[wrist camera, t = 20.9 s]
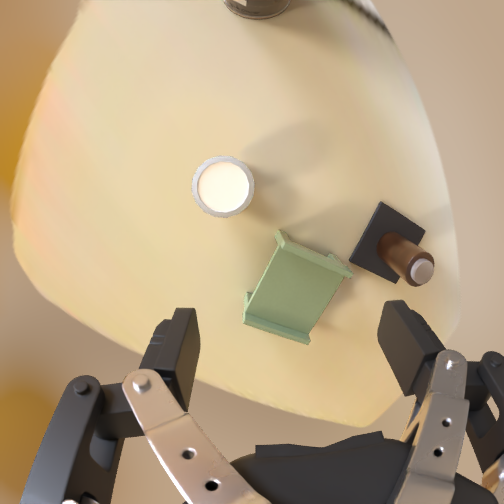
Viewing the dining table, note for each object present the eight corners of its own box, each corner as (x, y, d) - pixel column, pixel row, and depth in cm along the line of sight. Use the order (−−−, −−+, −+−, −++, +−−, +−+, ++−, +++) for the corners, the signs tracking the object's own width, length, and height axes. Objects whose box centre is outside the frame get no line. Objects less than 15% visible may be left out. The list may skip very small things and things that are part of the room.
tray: (277, 227, 40) (285, 242, 33) (337, 255, 41) (353, 273, 35) (241, 298, 43) (242, 323, 37) (299, 319, 45) (308, 345, 39)
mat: (380, 201, 39) (381, 202, 38) (423, 229, 41) (425, 230, 40) (348, 260, 42) (349, 261, 41) (394, 282, 44) (395, 284, 43)
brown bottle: (386, 226, 39) (422, 248, 30) (407, 239, 40) (444, 263, 31) (371, 254, 41) (402, 283, 31) (392, 265, 42) (425, 294, 32)
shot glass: (262, 176, 37) (268, 182, 30) (230, 216, 39) (228, 230, 32) (221, 143, 35) (217, 142, 29) (189, 185, 37) (178, 193, 30)
